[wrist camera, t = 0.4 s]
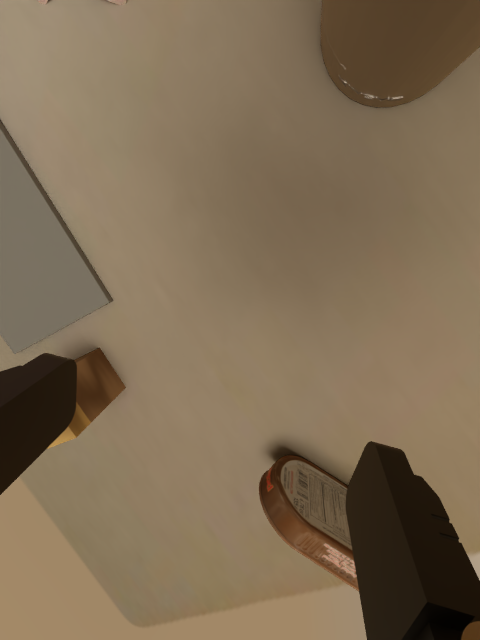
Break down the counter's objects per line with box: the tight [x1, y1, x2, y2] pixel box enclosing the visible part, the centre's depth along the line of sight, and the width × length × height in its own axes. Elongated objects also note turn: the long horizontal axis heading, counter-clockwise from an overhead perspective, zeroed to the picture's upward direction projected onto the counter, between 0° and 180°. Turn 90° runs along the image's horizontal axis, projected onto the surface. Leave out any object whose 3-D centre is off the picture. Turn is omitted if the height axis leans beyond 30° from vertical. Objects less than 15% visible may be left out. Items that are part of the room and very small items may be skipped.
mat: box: [0, 121, 113, 354], centre depth 31 cm, size 20×14×1 cm
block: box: [47, 348, 126, 449], centre depth 32 cm, size 5×5×8 cm
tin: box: [259, 455, 359, 591], centre depth 30 cm, size 15×3×8 cm, turn 59°
